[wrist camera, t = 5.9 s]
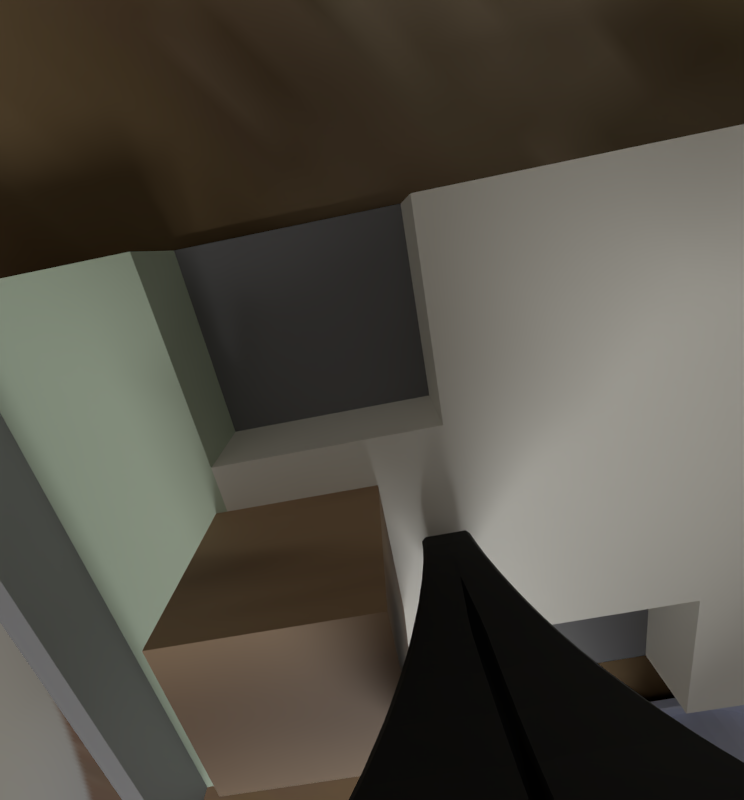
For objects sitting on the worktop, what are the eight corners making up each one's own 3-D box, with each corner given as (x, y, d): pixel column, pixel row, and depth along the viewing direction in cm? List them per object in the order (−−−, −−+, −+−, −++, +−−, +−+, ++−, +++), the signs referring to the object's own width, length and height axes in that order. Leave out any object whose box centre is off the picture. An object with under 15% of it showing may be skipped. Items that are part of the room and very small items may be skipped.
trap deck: (946, 599, 16) (1150, 722, 12) (214, 716, 17) (167, 866, 13) (1167, 45, 10) (1753, -100, 6) (1, 286, 11) (-214, 311, 7)
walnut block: (403, 609, 12) (423, 766, 9) (261, 632, 13) (219, 796, 9) (378, 485, 11) (387, 611, 7) (216, 513, 11) (141, 650, 7)
